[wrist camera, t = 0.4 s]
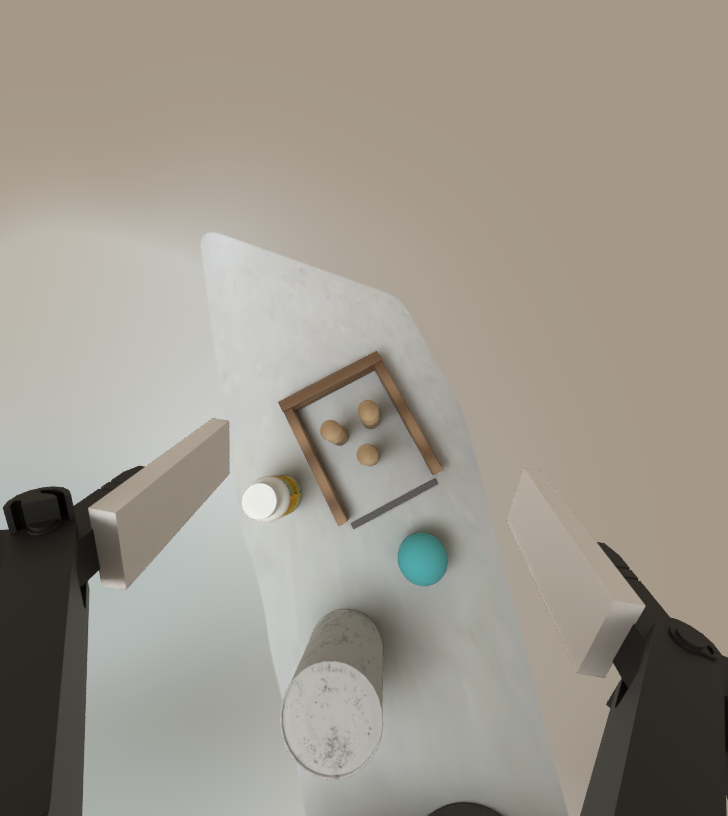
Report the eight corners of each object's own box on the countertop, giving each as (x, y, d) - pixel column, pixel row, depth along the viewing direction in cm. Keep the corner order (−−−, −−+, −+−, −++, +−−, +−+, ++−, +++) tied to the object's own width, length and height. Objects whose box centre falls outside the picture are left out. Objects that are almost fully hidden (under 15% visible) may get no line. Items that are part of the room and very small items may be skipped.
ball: (451, 563, 45) (461, 577, 39) (410, 585, 44) (414, 603, 39) (428, 520, 46) (435, 528, 40) (388, 542, 46) (389, 552, 40)
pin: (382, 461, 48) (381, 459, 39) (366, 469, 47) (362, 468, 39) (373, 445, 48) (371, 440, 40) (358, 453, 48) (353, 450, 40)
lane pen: (439, 470, 47) (443, 470, 44) (340, 523, 46) (337, 526, 43) (377, 357, 50) (376, 350, 47) (284, 406, 50) (278, 402, 47)
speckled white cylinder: (294, 664, 44) (260, 739, 32) (332, 594, 45) (312, 640, 33) (360, 709, 42) (350, 804, 30) (397, 635, 44) (401, 698, 31)
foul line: (437, 484, 46) (437, 484, 46) (353, 528, 46) (353, 529, 46) (434, 478, 47) (434, 478, 46) (350, 523, 46) (350, 523, 46)
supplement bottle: (256, 498, 48) (225, 506, 38) (280, 467, 48) (255, 466, 39) (286, 523, 47) (262, 536, 37) (310, 490, 47) (292, 495, 38)
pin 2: (382, 423, 48) (382, 414, 40) (367, 431, 48) (363, 423, 40) (374, 409, 49) (372, 396, 41) (359, 417, 49) (354, 406, 40)
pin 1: (351, 440, 48) (344, 434, 40) (336, 448, 48) (325, 444, 40) (343, 425, 49) (334, 416, 40) (328, 433, 49) (316, 425, 40)
